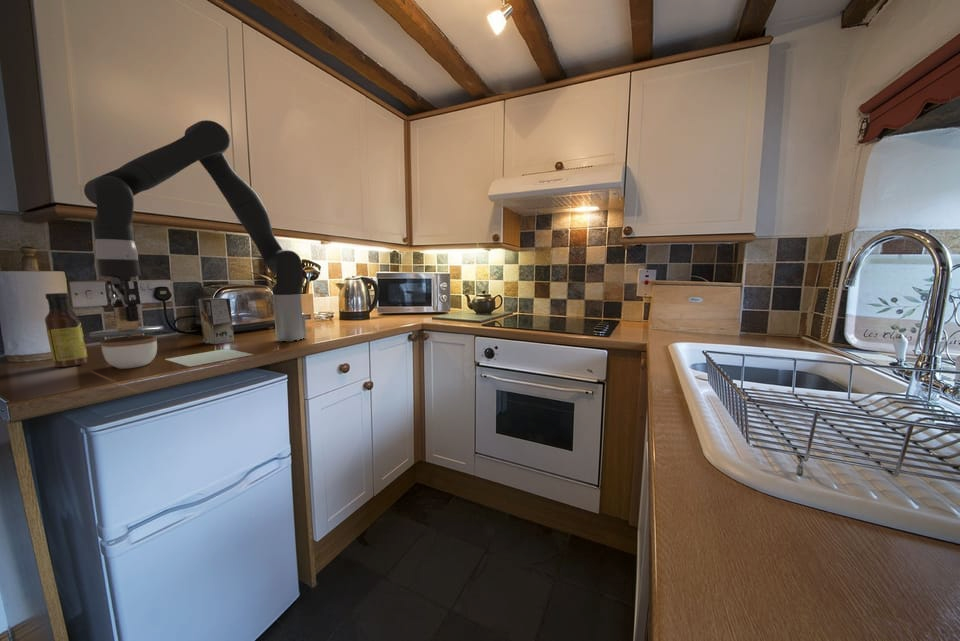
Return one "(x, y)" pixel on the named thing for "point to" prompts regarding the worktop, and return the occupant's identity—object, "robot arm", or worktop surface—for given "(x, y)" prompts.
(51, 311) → the sauce bottle
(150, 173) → the robot arm
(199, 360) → the mat
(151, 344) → the lidded jar
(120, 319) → the lid
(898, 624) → the worktop surface
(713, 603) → the worktop surface
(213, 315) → the coffee box
